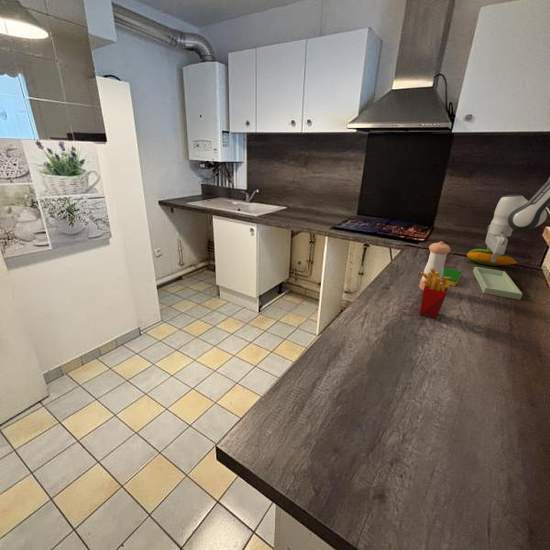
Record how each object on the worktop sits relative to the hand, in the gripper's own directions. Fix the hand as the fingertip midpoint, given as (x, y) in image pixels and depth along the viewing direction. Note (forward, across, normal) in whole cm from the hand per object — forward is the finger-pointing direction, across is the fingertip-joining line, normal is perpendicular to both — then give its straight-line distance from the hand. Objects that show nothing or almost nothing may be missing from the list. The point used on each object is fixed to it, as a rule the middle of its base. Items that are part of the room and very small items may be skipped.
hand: (490, 258), depth 140 cm
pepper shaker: (+4, -45, +28) cm, 53 cm away
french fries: (+4, -67, +30) cm, 73 cm away
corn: (+3, 0, 0) cm, 3 cm away
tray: (+3, -27, +3) cm, 27 cm away
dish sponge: (+4, -30, +20) cm, 36 cm away
